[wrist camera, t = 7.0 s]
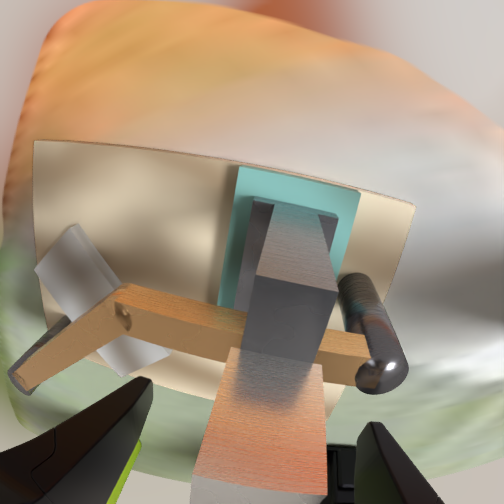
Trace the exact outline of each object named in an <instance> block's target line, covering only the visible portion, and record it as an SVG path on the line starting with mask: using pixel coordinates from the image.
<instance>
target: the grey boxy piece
mask: <svg viewBox="0 0 504 504" xmlns="http://www.w3.org/2000/svg"><path fill="white" fill-rule="evenodd" d="M338 220H339V218H338V216H337V214H336V213H332V212H327V211H323V210H319V209H314V208H310V207H305V206H301V205H296V204H292V203H287V202H282V201H278V200H273V199H268V198H263V197H258V196H255V198H254V199H253V203H252V209H251V214H250V220H249V225H248V230H247V236H246V241H245V247H244V252H243V258H242V263H241V269H240V275H239V280H238V286H237V291H236V297H235V302H234V308H233V309H235V310H239V311H244V312H248V314H247V319H246V324H245V328H244V333H243V338H242V343H241V348H240V349H238V348H234V347H231V349H230V352H229V355H228V359H227V362H226V365H225V369H224V372H223V375H222V378H221V382H220V385H219V388H218V392H217V395H216V398H215V402H214V405H213V408H212V411H211V415H210V418H209V421H208V424H207V428H206V431H205V434H204V438H203V441H202V444H201V447H200V451H199V454H198V457H197V460H196V464H195V467H194V470H193V473H192V482H191V495H190V504H319V503H320V502H321V501H322V500H323V499H324V498H325V497H326V496H327V451H326V425H325V405H324V389H323V374H322V365H320V364H314V363H313V362H314V360H315V357H316V354H317V352H318V349H319V347H320V344H321V341H322V338H323V336H324V333H325V330H326V328H327V325H328V322H329V319H330V316H331V313H332V311H333V308H334V305H335V302H336V299H337V296H338V293H339V291H338V287H337V283H336V279H335V275H334V271H333V267H332V263H331V260H330V256H329V253H330V250H331V246H332V242H333V239H334V235H335V231H336V228H337V224H338Z"/></svg>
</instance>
